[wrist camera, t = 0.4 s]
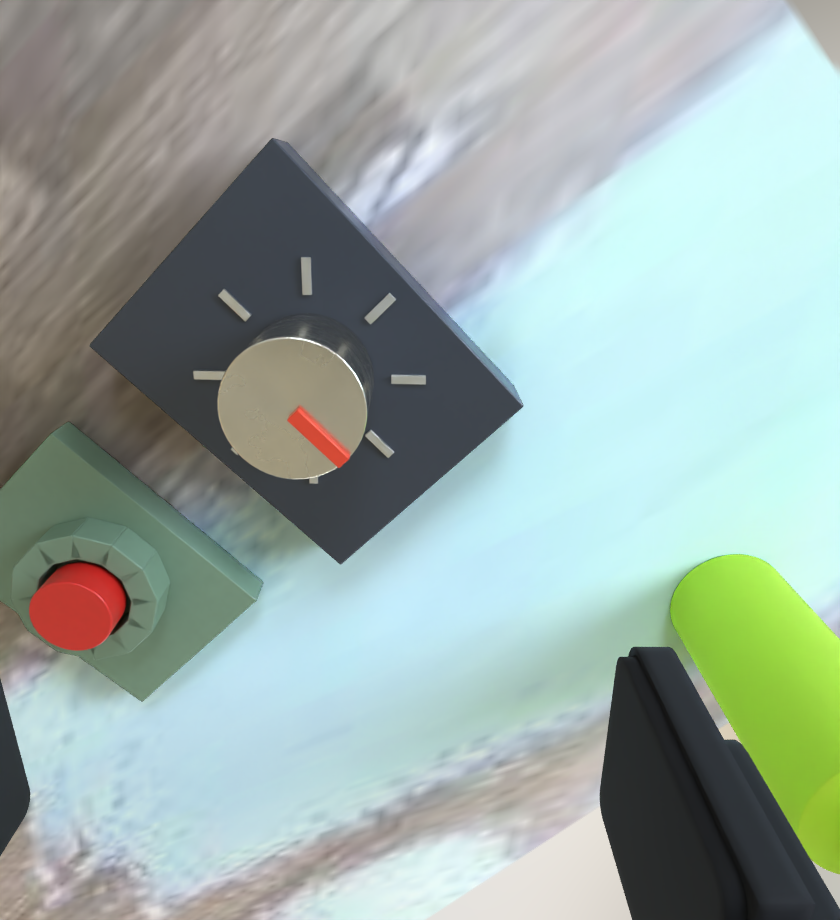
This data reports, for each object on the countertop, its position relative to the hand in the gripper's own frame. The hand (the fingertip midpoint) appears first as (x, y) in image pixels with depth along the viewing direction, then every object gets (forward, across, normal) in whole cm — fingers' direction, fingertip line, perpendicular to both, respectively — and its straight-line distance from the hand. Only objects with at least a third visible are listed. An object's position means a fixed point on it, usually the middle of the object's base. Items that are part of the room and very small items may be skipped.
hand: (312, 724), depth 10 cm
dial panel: (+22, +3, 0) cm, 22 cm away
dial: (+19, +3, 0) cm, 19 cm away
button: (+19, +14, +10) cm, 26 cm away
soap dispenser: (+23, -18, +13) cm, 32 cm away
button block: (+22, +14, +10) cm, 28 cm away
